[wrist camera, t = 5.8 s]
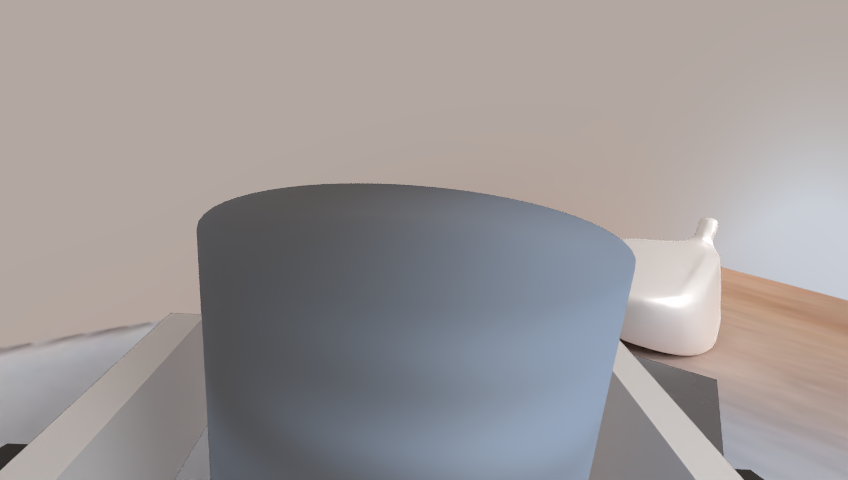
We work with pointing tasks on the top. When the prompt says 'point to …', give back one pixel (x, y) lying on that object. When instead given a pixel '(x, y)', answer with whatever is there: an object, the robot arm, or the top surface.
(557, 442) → the peg
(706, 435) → the socket block
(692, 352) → the driver head
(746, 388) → the top surface
